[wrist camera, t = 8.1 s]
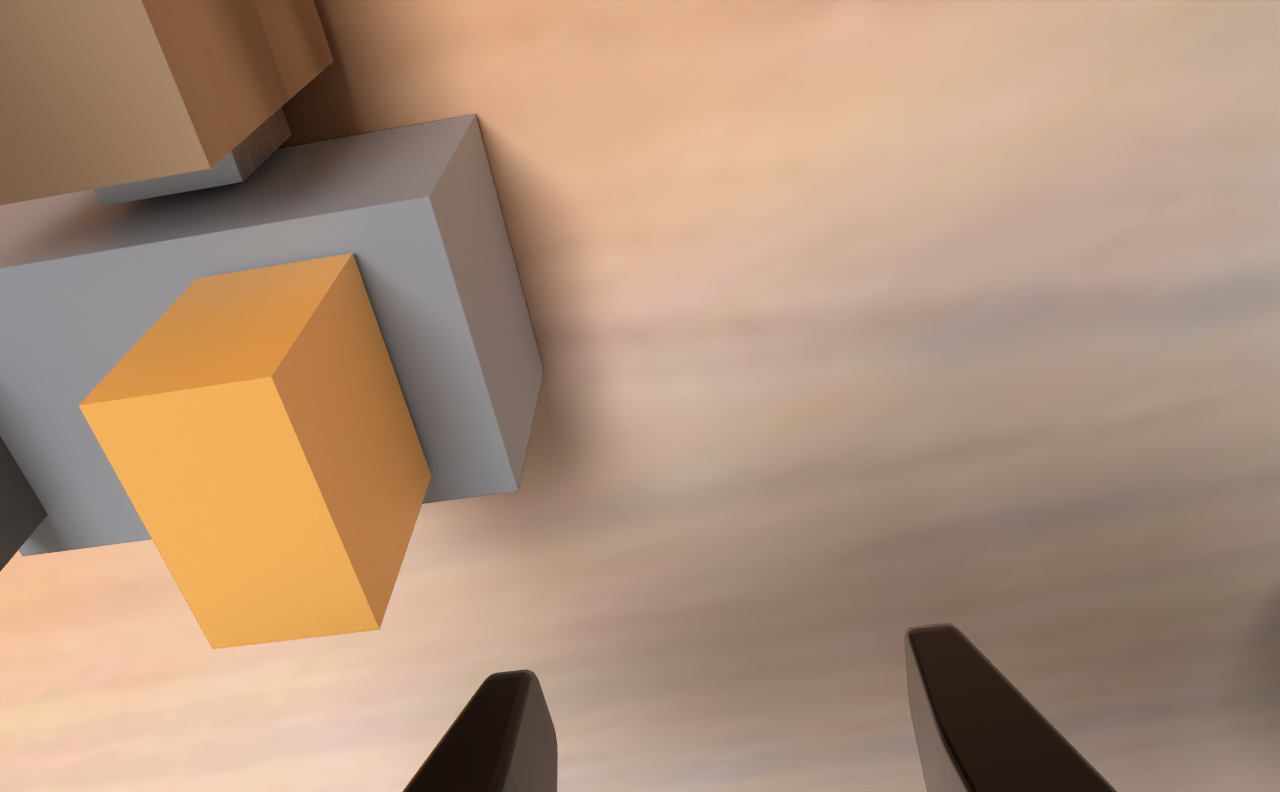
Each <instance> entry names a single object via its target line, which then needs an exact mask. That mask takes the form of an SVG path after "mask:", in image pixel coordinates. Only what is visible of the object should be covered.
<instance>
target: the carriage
mask: <svg viewBox="0 0 1280 792" xmlns="http://www.w3.org/2000/svg"><path fill="white" fill-rule="evenodd" d="M333 61H334V60H333V57H332V54H331V51H330V48H329V45H328V42H327V39H326V36H325V33H324V30H323V27H322V24H321V21H320V18H319V15H318V12H317V9H316V6H315V2H314V0H0V205H5V204H11V203H17V202H23V201H28V200H34V199H40V198H45V197H51V196H57V195H62V194H68V193H74V192H80V191H85V190H91V189H97V188H102V187H108V186H114V185H119V184H125V183H131V182H137V181H142V180H148V179H154V178H159V177H165V176H171V175H176V174H182V173H188V172H193V171H199V170H205V169H211V168H212V167H213V166H214V165H215V164H217V163H218V162H219V161H220V160H221V159H222V158H223V157H225V156H226V155H227V154H228V153H229V152H230V151H231V150H233V149H234V148H235V147H236V146H237V145H238V144H239V143H241V142H242V141H243V140H244V139H245V138H246V137H247V136H249V135H250V134H251V133H252V132H253V131H254V130H255V129H257V128H258V127H259V126H260V125H261V124H262V123H264V122H265V121H266V120H267V119H268V118H269V117H270V116H272V115H273V114H274V113H275V112H276V111H277V110H278V109H280V108H281V107H282V106H283V105H284V104H285V103H286V102H288V101H289V100H290V99H291V98H292V97H293V96H294V95H296V94H297V93H298V92H299V91H300V90H301V89H302V88H304V87H305V86H306V85H307V84H308V83H309V82H311V81H312V80H313V79H314V78H315V77H316V76H317V75H319V74H320V73H321V72H322V71H323V70H324V69H325V68H327V67H328V66H329V65H330V64H331V63H332V62H333Z"/></svg>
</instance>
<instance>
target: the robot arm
mask: <svg viewBox="0 0 1280 792" xmlns="http://www.w3.org/2000/svg"><path fill="white" fill-rule="evenodd" d="M905 652H906V667H907V683H908V696H909V704H910V710H911V716H912V721H913V726H914V731H915V735H916V740H917V745H918V750H919V755H920V760H921V764H922V769H923V774H924V779H925V784H926V789H927V792H1117V791H1116V790H1115V789H1114V788H1113V787H1112V786H1111V785H1110V784H1109V783H1108V782H1107V781H1106V780H1105V779H1104V778H1103V777H1102V776H1101V775H1100V774H1099V773H1098V772H1097V771H1096V770H1095V769H1094V768H1093V766H1092V765H1091V764H1090V763H1089V762H1088V761H1087V760H1086V759H1085V758H1084V757H1083V756H1082V755H1081V754H1080V753H1079V752H1078V751H1077V750H1076V749H1075V748H1074V747H1073V746H1072V745H1071V744H1070V743H1069V742H1068V741H1067V740H1066V739H1065V738H1064V737H1063V736H1062V735H1061V734H1060V733H1059V732H1058V731H1057V730H1056V729H1055V728H1054V727H1053V726H1052V724H1051V723H1050V722H1049V721H1048V720H1047V719H1046V718H1045V717H1044V716H1043V715H1042V714H1041V713H1040V712H1039V711H1038V710H1037V709H1036V708H1035V707H1034V706H1033V705H1032V704H1031V703H1030V702H1029V701H1028V700H1027V699H1026V698H1025V697H1024V696H1023V695H1022V694H1021V693H1020V692H1019V691H1018V690H1017V689H1016V688H1015V687H1014V686H1013V685H1012V684H1011V682H1010V681H1009V680H1008V679H1007V678H1006V677H1005V676H1004V675H1003V674H1002V673H1001V672H1000V671H999V670H998V669H997V668H996V667H995V666H994V665H993V664H992V663H991V662H990V661H989V660H988V659H987V658H986V657H985V656H984V655H983V654H982V653H981V652H980V651H979V650H978V649H977V648H976V647H975V646H974V645H973V644H972V643H971V642H970V641H969V639H968V638H967V637H966V636H965V635H964V634H963V633H962V632H961V631H960V630H959V629H958V628H956V627H955V626H954V625H951V624H949V623H942V624H933V625H924V626H915V627H911V628H909V629H908V630H907V631H906V633H905ZM557 759H558V754H557V740H556V733H555V729H554V725H553V722H552V719H551V716H550V713H549V710H548V707H547V704H546V701H545V698H544V695H543V692H542V689H541V686H540V683H539V680H538V678H537V676H536V675H535V673H534V672H532V671H531V670H518V671H509V672H500V673H494V674H492V675H490V676H489V677H488V678H486V680H485V681H484V682H483V683H482V685H481V686H480V687H479V689H478V690H477V691H476V693H475V694H474V696H473V697H472V698H471V700H470V701H469V702H468V704H467V705H466V706H465V708H464V709H463V710H462V712H461V713H460V714H459V716H458V717H457V719H456V720H455V721H454V723H453V724H452V725H451V727H450V728H449V729H448V731H447V732H446V733H445V735H444V736H443V738H442V739H441V740H440V742H439V743H438V744H437V746H436V747H435V748H434V750H433V751H432V752H431V754H430V755H429V756H428V758H427V759H426V761H425V762H424V763H423V765H422V766H421V767H420V769H419V770H418V771H417V773H416V774H415V775H414V777H413V778H412V779H411V781H410V782H409V784H408V785H407V786H406V788H405V789H404V790H403V792H557Z"/></svg>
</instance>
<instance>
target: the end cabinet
mask: <svg viewBox="0 0 1280 792" xmlns="http://www.w3.org/2000/svg"><path fill="white" fill-rule="evenodd" d="M349 253H353V255H354V258H355V261H356V264H357V267H358V269H359V272H360V275H361V278H362V281H363V284H364V286H365V289H366V292H367V295H368V298H369V301H370V303H371V306H372V309H373V312H374V315H375V318H376V320H377V323H378V326H379V329H380V332H381V335H382V337H383V340H384V343H385V346H386V349H387V351H388V354H389V357H390V360H391V363H392V366H393V368H394V371H395V374H396V377H397V380H398V383H399V385H400V388H401V391H402V394H403V397H404V400H405V402H406V405H407V408H408V411H409V414H410V417H411V419H412V422H413V425H414V428H415V431H416V434H417V436H418V439H419V442H420V445H421V448H422V451H423V453H424V456H425V459H426V462H427V465H428V467H429V470H430V473H431V479H430V482H429V485H428V488H427V490H426V493H425V496H424V499H423V502H422V504H424V503H431V502H439V501H447V500H454V499H462V498H470V497H477V496H485V495H492V494H500V493H508V492H515V491H518V489H519V484H520V480H521V475H522V470H523V466H524V461H525V456H526V451H527V447H528V442H529V437H530V433H531V428H532V423H533V418H534V414H535V409H536V404H537V400H538V395H539V390H540V386H541V381H542V376H543V371H544V369H543V365H542V361H541V358H540V354H539V350H538V346H537V343H536V339H535V335H534V331H533V327H532V324H531V320H530V316H529V312H528V309H527V305H526V301H525V297H524V294H523V290H522V286H521V282H520V279H519V275H518V271H517V267H516V263H515V260H514V256H513V252H512V248H511V245H510V241H509V237H508V233H507V230H506V226H505V222H504V218H503V215H502V211H501V207H500V203H499V199H498V196H497V192H496V188H495V184H494V181H493V177H492V173H491V169H490V166H489V162H488V158H487V154H486V151H485V147H484V143H483V139H482V135H481V132H480V128H479V124H478V120H477V117H476V114H472V115H466V116H461V117H455V118H449V119H444V120H438V121H432V122H427V123H421V124H415V125H410V126H404V127H398V128H393V129H387V130H381V131H376V132H370V133H364V134H359V135H353V136H347V137H342V138H336V139H330V140H325V141H319V142H313V143H308V144H302V145H296V146H291V147H285V148H279V149H277V150H275V151H274V152H273V153H272V154H271V155H270V156H269V157H268V158H267V159H266V160H265V161H264V162H263V163H262V164H261V165H260V166H259V167H258V168H257V169H256V170H255V171H254V172H253V173H252V174H251V175H250V176H249V177H248V178H247V179H246V180H245V181H244V182H239V183H233V184H228V185H222V186H216V187H210V188H205V189H199V190H193V191H187V192H181V193H176V194H170V195H164V196H158V197H153V198H147V199H141V200H135V201H130V202H124V203H118V204H112V205H106V206H101V205H100V203H99V201H98V199H97V196H96V194H95V192H94V190H93V189H91V190H85V191H80V192H74V193H68V194H62V195H57V196H51V197H45V198H40V199H34V200H28V201H23V202H17V203H11V204H5V205H0V571H1V570H2V569H3V568H4V566H5V565H6V564H7V563H8V562H9V560H10V559H11V558H12V557H13V556H14V554H15V553H16V552H17V551H18V550H19V551H20V553H21V554H22V556H28V555H36V554H44V553H51V552H59V551H66V550H74V549H82V548H89V547H97V546H104V545H112V544H120V543H127V542H135V541H142V540H150V539H152V538H151V536H150V535H149V533H148V531H147V529H146V527H145V526H144V524H143V522H142V520H141V518H140V516H139V515H138V513H137V511H136V509H135V507H134V506H133V504H132V502H131V500H130V498H129V496H128V495H127V493H126V491H125V489H124V487H123V486H122V484H121V482H120V480H119V478H118V476H117V475H116V473H115V471H114V469H113V467H112V466H111V464H110V462H109V460H108V458H107V456H106V455H105V453H104V451H103V449H102V447H101V446H100V444H99V442H98V440H97V438H96V436H95V435H94V433H93V431H92V429H91V427H90V426H89V424H88V422H87V420H86V418H85V416H84V415H83V413H82V411H81V409H80V407H79V405H80V403H81V402H82V401H83V400H84V399H85V398H86V397H87V396H88V395H89V394H90V393H91V392H92V391H93V389H94V388H95V387H96V386H97V385H98V384H99V383H100V382H101V381H102V380H103V379H104V378H105V376H106V375H107V374H108V373H109V372H110V371H111V370H112V369H113V368H114V367H115V366H116V365H117V364H118V362H119V361H120V360H121V359H122V358H123V357H124V356H125V355H126V354H127V353H128V352H129V351H130V350H131V348H132V347H133V346H134V345H135V344H136V343H137V342H138V341H139V340H140V339H141V338H142V337H143V336H144V334H145V333H146V332H147V331H148V330H149V329H150V328H151V327H152V326H153V325H154V324H155V323H156V322H157V320H158V319H159V318H160V317H161V316H162V315H163V314H164V313H165V312H166V311H167V310H168V309H169V308H170V306H171V305H172V304H173V303H174V302H175V301H176V300H177V299H178V298H179V297H180V296H181V295H182V294H183V292H184V291H185V290H186V289H187V288H188V287H189V286H190V285H191V284H192V283H193V282H194V281H195V280H196V278H201V277H208V276H214V275H220V274H226V273H232V272H238V271H244V270H251V269H257V268H263V267H269V266H275V265H281V264H288V263H294V262H300V261H306V260H312V259H318V258H324V257H331V256H337V255H343V254H349Z"/></svg>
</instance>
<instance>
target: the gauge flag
mask: <svg viewBox="0 0 1280 792" xmlns="http://www.w3.org/2000/svg"><path fill="white" fill-rule="evenodd" d="M79 407H80V409H81V411H82V413H83V415H84V416H85V418H86V420H87V422H88V424H89V426H90V427H91V429H92V431H93V433H94V435H95V436H96V438H97V440H98V442H99V444H100V446H101V447H102V449H103V451H104V453H105V455H106V456H107V458H108V460H109V462H110V464H111V466H112V467H113V469H114V471H115V473H116V475H117V476H118V478H119V480H120V482H121V484H122V486H123V487H124V489H125V491H126V493H127V495H128V496H129V498H130V500H131V502H132V504H133V506H134V507H135V509H136V511H137V513H138V515H139V516H140V518H141V520H142V522H143V524H144V526H145V527H146V529H147V531H148V533H149V535H150V536H151V538H152V540H153V542H154V544H155V546H156V547H157V549H158V551H159V553H160V555H161V556H162V558H163V560H164V562H165V564H166V566H167V567H168V569H169V571H170V573H171V575H172V576H173V578H174V580H175V582H176V584H177V586H178V587H179V589H180V591H181V593H182V595H183V596H184V598H185V600H186V602H187V604H188V606H189V607H190V609H191V611H192V613H193V615H194V616H195V618H196V620H197V622H198V624H199V626H200V627H201V629H202V631H203V633H204V635H205V636H206V638H207V640H208V642H209V644H210V646H211V647H212V649H218V648H226V647H235V646H244V645H252V644H261V643H269V642H278V641H286V640H295V639H303V638H312V637H320V636H329V635H337V634H346V633H354V632H363V631H372V630H379V629H380V626H381V623H382V620H383V617H384V614H385V611H386V609H387V606H388V603H389V600H390V597H391V594H392V591H393V588H394V585H395V582H396V579H397V576H398V573H399V570H400V567H401V564H402V561H403V558H404V555H405V552H406V549H407V547H408V544H409V541H410V538H411V535H412V532H413V529H414V526H415V523H416V520H417V517H418V514H419V511H420V508H421V505H422V502H423V499H424V496H425V493H426V490H427V488H428V485H429V482H430V479H431V473H430V470H429V467H428V465H427V462H426V459H425V456H424V453H423V451H422V448H421V445H420V442H419V439H418V436H417V434H416V431H415V428H414V425H413V422H412V419H411V417H410V414H409V411H408V408H407V405H406V402H405V400H404V397H403V394H402V391H401V388H400V385H399V383H398V380H397V377H396V374H395V371H394V368H393V366H392V363H391V360H390V357H389V354H388V351H387V349H386V346H385V343H384V340H383V337H382V335H381V332H380V329H379V326H378V323H377V320H376V318H375V315H374V312H373V309H372V306H371V303H370V301H369V298H368V295H367V292H366V289H365V286H364V284H363V281H362V278H361V275H360V272H359V269H358V267H357V264H356V261H355V258H354V255H353V253H349V254H343V255H337V256H331V257H324V258H318V259H312V260H306V261H300V262H294V263H288V264H281V265H275V266H269V267H263V268H257V269H251V270H244V271H238V272H232V273H226V274H220V275H214V276H208V277H201V278H196V280H195V281H194V282H193V283H192V284H191V285H190V286H189V287H188V288H187V289H186V290H185V291H184V292H183V294H182V295H181V296H180V297H179V298H178V299H177V300H176V301H175V302H174V303H173V304H172V305H171V306H170V308H169V309H168V310H167V311H166V312H165V313H164V314H163V315H162V316H161V317H160V318H159V319H158V320H157V322H156V323H155V324H154V325H153V326H152V327H151V328H150V329H149V330H148V331H147V332H146V333H145V334H144V336H143V337H142V338H141V339H140V340H139V341H138V342H137V343H136V344H135V345H134V346H133V347H132V348H131V350H130V351H129V352H128V353H127V354H126V355H125V356H124V357H123V358H122V359H121V360H120V361H119V362H118V364H117V365H116V366H115V367H114V368H113V369H112V370H111V371H110V372H109V373H108V374H107V375H106V376H105V378H104V379H103V380H102V381H101V382H100V383H99V384H98V385H97V386H96V387H95V388H94V389H93V391H92V392H91V393H90V394H89V395H88V396H87V397H86V398H85V399H84V400H83V401H82V402H81V403H80V405H79Z"/></svg>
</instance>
